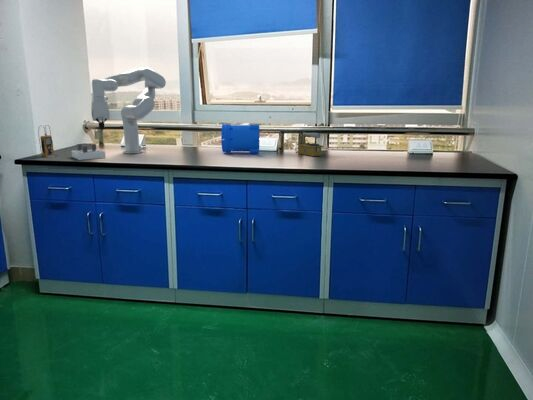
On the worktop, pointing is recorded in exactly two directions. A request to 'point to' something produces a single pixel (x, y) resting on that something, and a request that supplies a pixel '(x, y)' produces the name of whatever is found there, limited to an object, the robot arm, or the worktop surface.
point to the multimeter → (46, 145)
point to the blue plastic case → (240, 138)
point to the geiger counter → (309, 145)
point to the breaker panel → (88, 154)
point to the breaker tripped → (93, 146)
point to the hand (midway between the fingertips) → (101, 128)
